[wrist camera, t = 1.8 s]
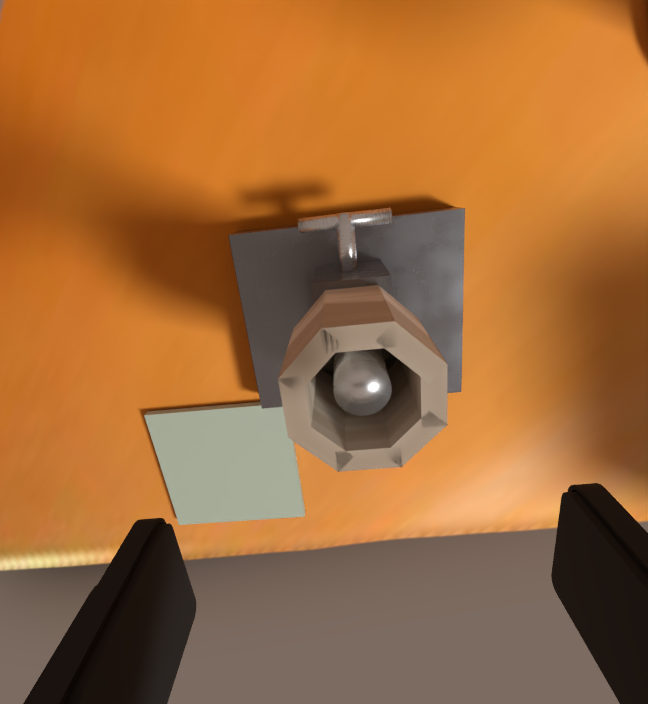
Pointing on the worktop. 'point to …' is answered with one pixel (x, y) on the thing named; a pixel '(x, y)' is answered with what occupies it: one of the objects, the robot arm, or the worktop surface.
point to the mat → (227, 462)
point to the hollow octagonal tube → (405, 375)
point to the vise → (346, 272)
